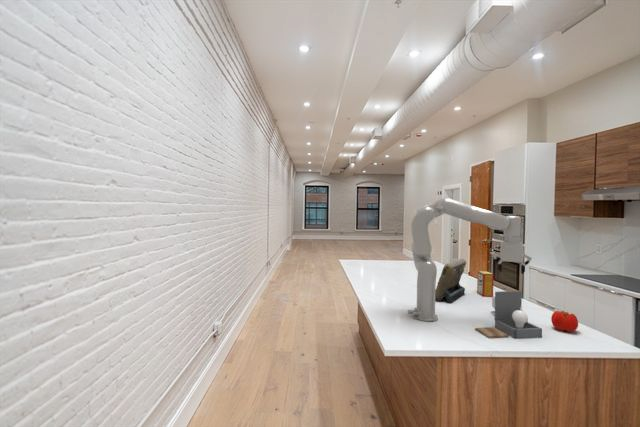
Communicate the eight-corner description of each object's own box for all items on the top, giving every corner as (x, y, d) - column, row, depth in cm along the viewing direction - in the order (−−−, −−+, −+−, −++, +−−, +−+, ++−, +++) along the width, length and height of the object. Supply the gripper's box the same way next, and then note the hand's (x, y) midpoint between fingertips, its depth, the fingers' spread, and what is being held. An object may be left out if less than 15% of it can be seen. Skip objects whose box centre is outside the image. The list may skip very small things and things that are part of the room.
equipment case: (514, 338, 143) (515, 299, 143) (494, 327, 157) (495, 291, 157) (542, 337, 145) (543, 298, 145) (519, 326, 159) (520, 290, 159)
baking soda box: (477, 293, 222) (477, 270, 222) (486, 293, 222) (487, 270, 222) (483, 296, 213) (483, 273, 213) (492, 297, 212) (493, 273, 212)
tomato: (545, 326, 160) (546, 309, 160) (567, 326, 160) (568, 309, 160) (561, 334, 150) (561, 316, 149) (584, 334, 149) (585, 316, 149)
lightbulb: (527, 336, 145) (528, 313, 145) (511, 333, 149) (512, 310, 149) (526, 332, 151) (527, 309, 151) (511, 329, 154) (512, 307, 154)
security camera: (507, 317, 172) (508, 299, 172) (494, 316, 174) (494, 298, 173) (503, 313, 178) (504, 296, 178) (490, 312, 180) (490, 295, 180)
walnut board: (488, 338, 143) (488, 336, 143) (474, 329, 153) (474, 327, 153) (508, 337, 145) (508, 335, 145) (493, 329, 154) (493, 327, 154)
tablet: (445, 290, 228) (446, 256, 227) (466, 294, 219) (467, 258, 219) (432, 301, 201) (433, 262, 201) (455, 305, 193) (456, 264, 193)
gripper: (493, 239, 163) (492, 272, 163) (533, 241, 155) (532, 275, 155) (492, 238, 169) (491, 269, 170) (530, 239, 162) (530, 272, 162)
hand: (511, 272), depth 162 cm, fingers open, 9 cm apart
